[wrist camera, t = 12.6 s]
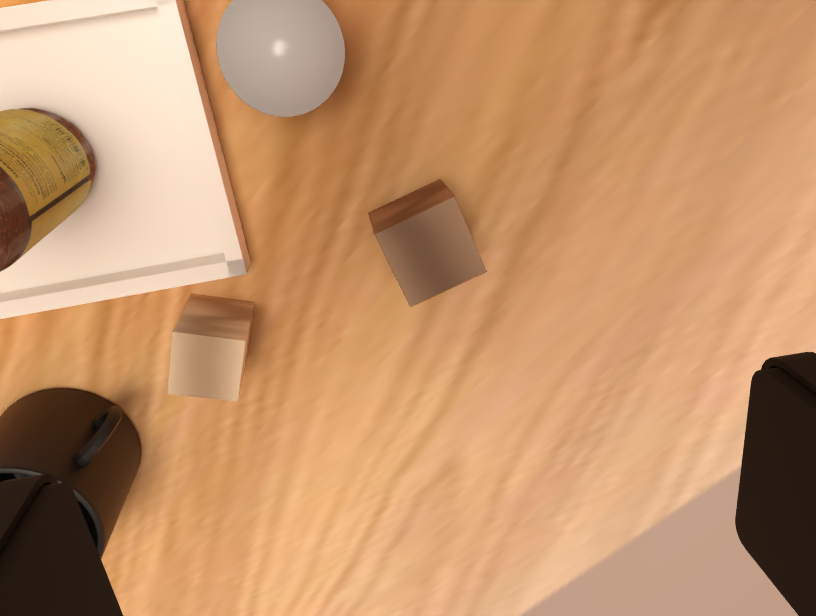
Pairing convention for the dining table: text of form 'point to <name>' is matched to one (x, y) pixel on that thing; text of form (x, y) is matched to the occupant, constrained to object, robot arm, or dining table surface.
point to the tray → (122, 152)
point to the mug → (73, 451)
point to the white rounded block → (281, 54)
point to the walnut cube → (426, 242)
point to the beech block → (210, 348)
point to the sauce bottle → (39, 177)
